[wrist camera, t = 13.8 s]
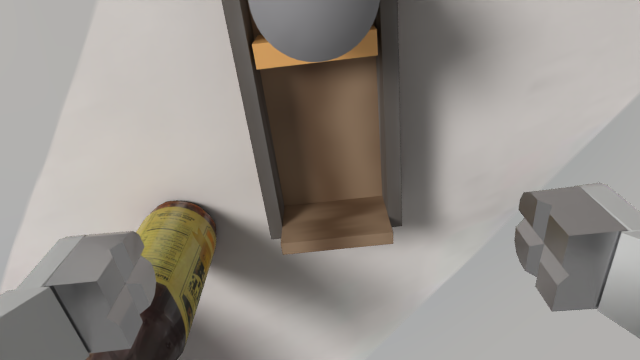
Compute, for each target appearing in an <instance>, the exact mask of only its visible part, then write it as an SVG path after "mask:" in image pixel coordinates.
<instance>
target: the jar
mask: <svg viewBox="0 0 640 360" xmlns="http://www.w3.org/2000/svg"><path fill="white" fill-rule="evenodd" d="M248 2H249V6H250V11H251V14H252V16H253V19H254V21H255V23H256V25H257V27H258V29H259V31H260V32H261V34H262V35H263V36H264V38H265V39H266V40H267V41H268V42H269V43H270V44H271V45H272V46H273V47H274V48H276V49H277V50H278V51H280V52H281V53H283V54H285V55H287V56H289V57H291V58H294V59H296V60H301V61H306V62H323V61H329V60H332V59H335V58H338V57H340V56H342V55H344V54H346V53H347V52H349V51H351V50H352V49H353V48H354V47H355V46H357V45H358V44H359V43H360V42H361V41H362V40H363V38H364V37H365V36H366V34H367V33H368V32H369V30H370V28H371V26H372V25H373V22H374V20H375V18H376V15H377V11H378V8H379V2H380V0H248Z"/></svg>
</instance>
